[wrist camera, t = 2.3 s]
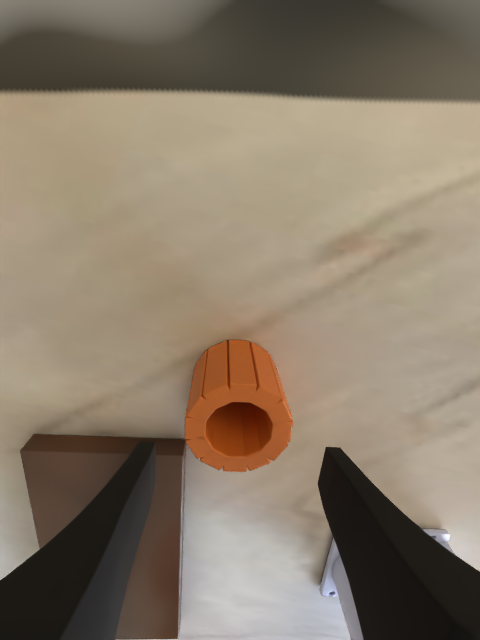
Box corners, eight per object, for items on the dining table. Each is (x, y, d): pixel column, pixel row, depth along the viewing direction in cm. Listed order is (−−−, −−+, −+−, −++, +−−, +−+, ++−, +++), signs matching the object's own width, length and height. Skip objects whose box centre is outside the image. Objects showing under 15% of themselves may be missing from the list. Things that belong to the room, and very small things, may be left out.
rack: (186, 439, 21) (168, 546, 14) (180, 617, 28) (166, 746, 21) (33, 433, 20) (-61, 544, 14) (66, 618, 27) (14, 752, 20)
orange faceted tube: (281, 342, 19) (299, 386, 14) (271, 413, 21) (284, 473, 16) (195, 337, 18) (185, 381, 14) (193, 409, 20) (183, 470, 15)
